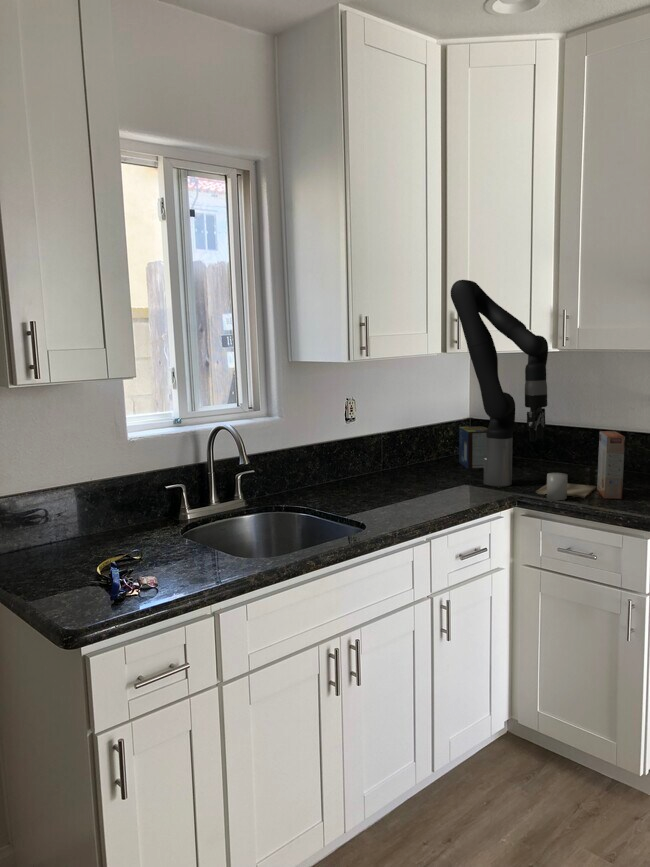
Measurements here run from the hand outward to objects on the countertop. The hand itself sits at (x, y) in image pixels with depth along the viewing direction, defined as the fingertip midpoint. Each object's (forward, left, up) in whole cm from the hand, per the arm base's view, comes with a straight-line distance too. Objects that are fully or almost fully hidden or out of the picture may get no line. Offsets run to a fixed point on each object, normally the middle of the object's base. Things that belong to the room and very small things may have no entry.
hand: (536, 439), depth 252 cm
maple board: (+11, 0, -17) cm, 20 cm away
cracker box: (+25, 0, -17) cm, 30 cm away
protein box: (-34, +33, -18) cm, 51 cm away
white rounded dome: (+11, -13, -17) cm, 24 cm away
